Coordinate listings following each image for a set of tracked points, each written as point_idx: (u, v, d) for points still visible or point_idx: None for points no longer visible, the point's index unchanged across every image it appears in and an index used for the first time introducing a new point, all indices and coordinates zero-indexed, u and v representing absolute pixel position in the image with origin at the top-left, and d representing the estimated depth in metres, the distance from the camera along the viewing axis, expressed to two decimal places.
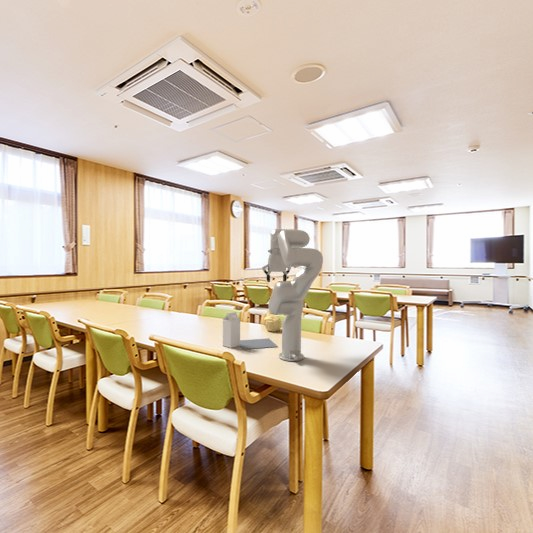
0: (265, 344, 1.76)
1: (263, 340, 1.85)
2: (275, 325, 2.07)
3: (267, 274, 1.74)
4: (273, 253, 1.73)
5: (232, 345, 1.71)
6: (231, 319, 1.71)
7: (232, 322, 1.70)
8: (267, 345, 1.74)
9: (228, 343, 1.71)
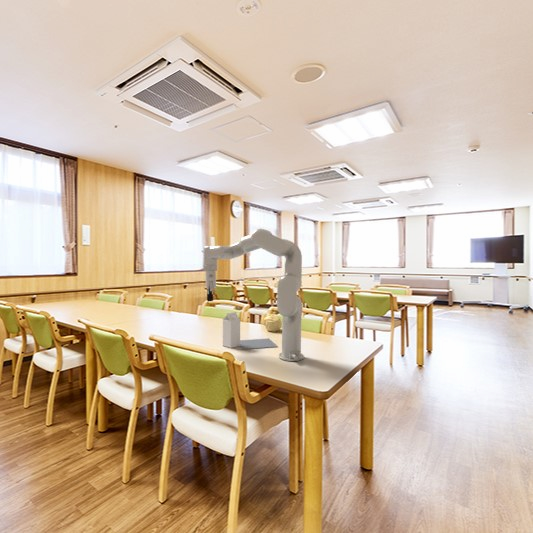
0: (265, 344, 1.76)
1: (263, 340, 1.85)
2: (275, 325, 2.07)
3: (212, 293, 1.70)
4: (215, 269, 1.68)
5: (232, 345, 1.71)
6: (231, 319, 1.71)
7: (232, 322, 1.70)
8: (267, 345, 1.74)
9: (228, 343, 1.71)
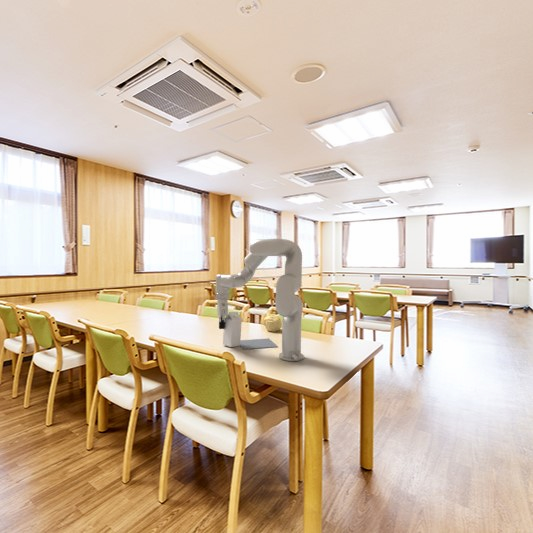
0: (265, 344, 1.76)
1: (263, 340, 1.85)
2: (275, 325, 2.07)
3: (224, 321, 1.72)
4: (227, 298, 1.71)
5: (232, 344, 1.71)
6: (233, 318, 1.72)
7: (234, 321, 1.71)
8: (267, 345, 1.74)
9: (229, 342, 1.71)
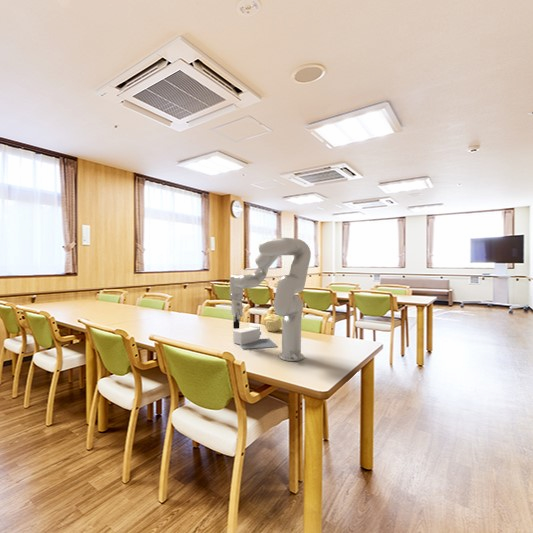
0: (265, 344, 1.76)
1: (263, 340, 1.85)
2: (275, 325, 2.07)
3: None
4: (241, 298, 1.73)
5: (243, 334, 1.76)
6: (259, 330, 1.87)
7: (258, 330, 1.85)
8: (267, 345, 1.74)
9: (242, 331, 1.77)
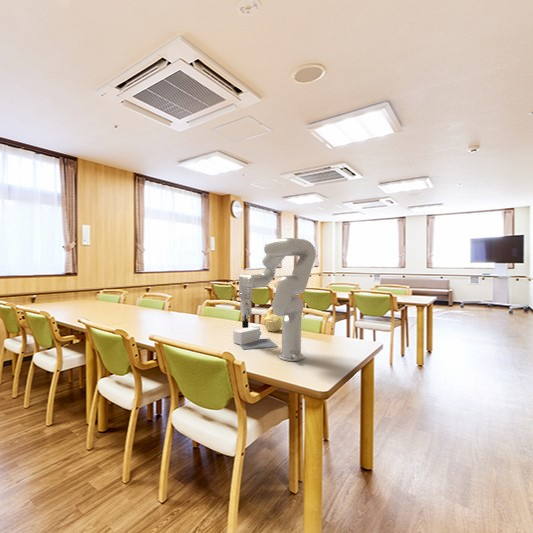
0: (265, 344, 1.76)
1: (263, 340, 1.85)
2: (275, 325, 2.07)
3: (247, 320, 1.76)
4: (250, 297, 1.74)
5: (243, 334, 1.76)
6: (259, 330, 1.87)
7: (258, 330, 1.85)
8: (267, 345, 1.74)
9: (242, 331, 1.77)
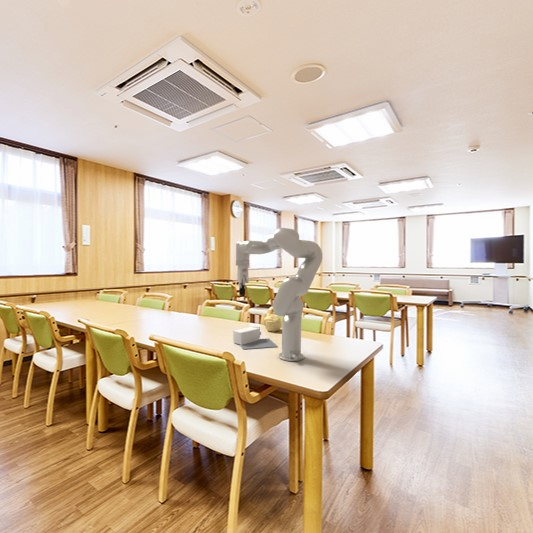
0: (265, 344, 1.76)
1: (263, 340, 1.85)
2: (275, 325, 2.07)
3: None
4: (247, 264, 1.73)
5: (243, 334, 1.76)
6: (259, 330, 1.87)
7: (258, 330, 1.85)
8: (267, 345, 1.74)
9: (242, 331, 1.77)
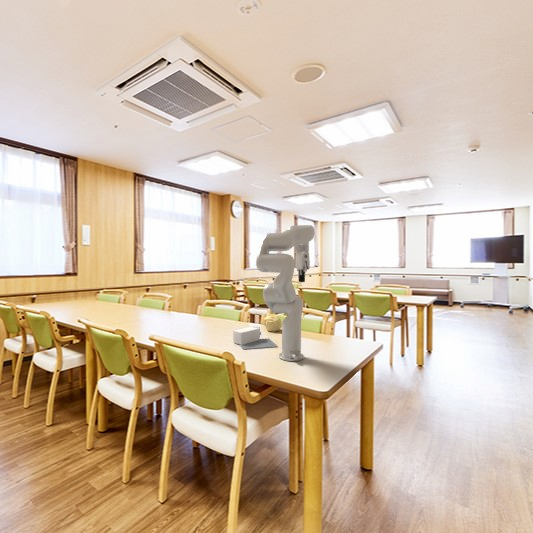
0: (265, 344, 1.76)
1: (263, 340, 1.85)
2: (275, 325, 2.07)
3: (304, 274, 1.71)
4: (308, 250, 1.69)
5: (243, 334, 1.76)
6: (259, 330, 1.87)
7: (258, 330, 1.85)
8: (267, 345, 1.74)
9: (242, 331, 1.77)
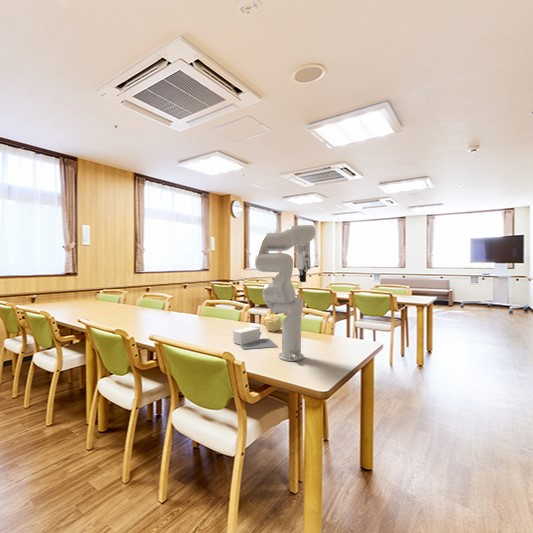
0: (265, 344, 1.76)
1: (263, 340, 1.85)
2: (275, 325, 2.07)
3: (305, 274, 1.71)
4: (309, 250, 1.69)
5: (243, 334, 1.76)
6: (259, 330, 1.87)
7: (258, 330, 1.85)
8: (267, 345, 1.74)
9: (242, 331, 1.77)
